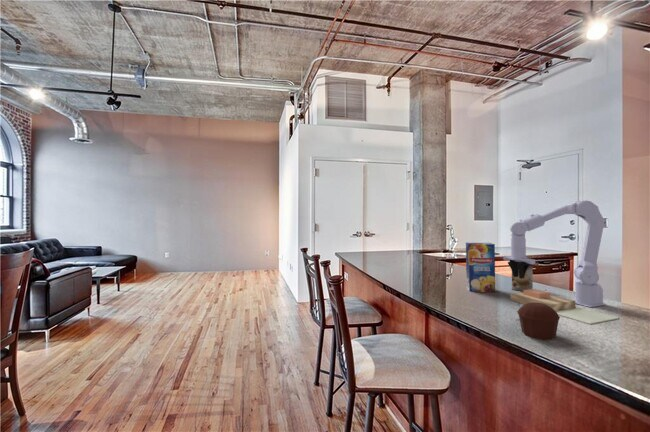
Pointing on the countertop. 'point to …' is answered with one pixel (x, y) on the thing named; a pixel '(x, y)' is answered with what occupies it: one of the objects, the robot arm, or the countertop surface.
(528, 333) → the muffin
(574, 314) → the placemat
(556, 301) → the board
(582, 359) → the countertop surface
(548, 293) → the coaster
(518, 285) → the coffee box
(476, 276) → the juice carton
